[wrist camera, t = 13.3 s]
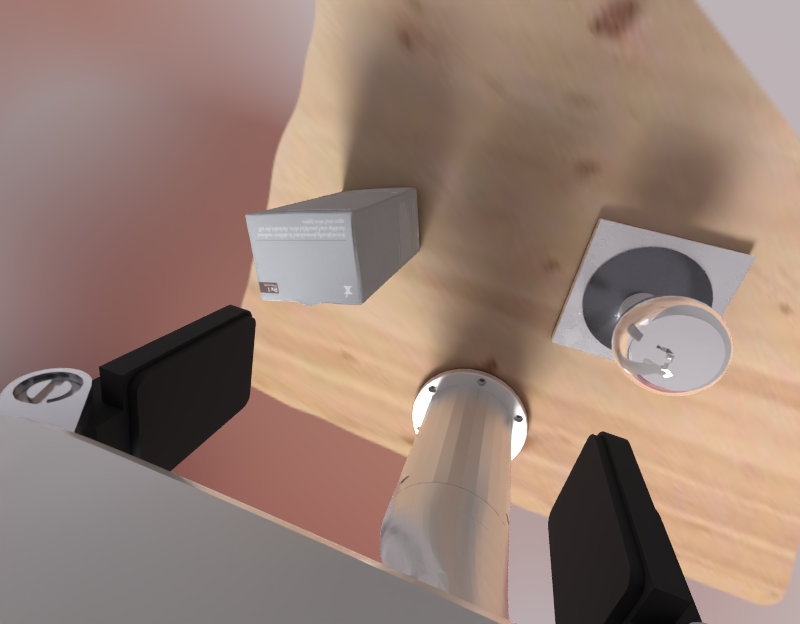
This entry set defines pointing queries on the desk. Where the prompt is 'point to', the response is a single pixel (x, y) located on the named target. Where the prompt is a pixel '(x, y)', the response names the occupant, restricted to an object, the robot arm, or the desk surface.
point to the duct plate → (641, 280)
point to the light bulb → (671, 344)
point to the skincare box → (334, 245)
